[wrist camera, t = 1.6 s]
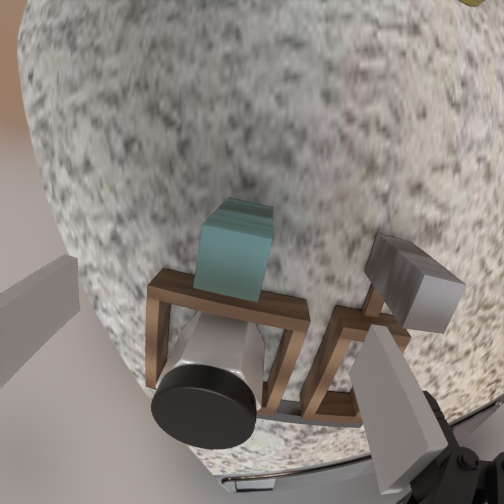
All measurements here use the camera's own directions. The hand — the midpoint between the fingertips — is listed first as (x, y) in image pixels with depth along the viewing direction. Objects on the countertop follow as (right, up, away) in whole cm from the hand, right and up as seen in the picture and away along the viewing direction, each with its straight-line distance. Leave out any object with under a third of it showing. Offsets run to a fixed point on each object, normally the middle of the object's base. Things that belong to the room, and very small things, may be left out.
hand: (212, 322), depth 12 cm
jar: (-1, -6, +19) cm, 20 cm away
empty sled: (+13, -5, +18) cm, 23 cm away
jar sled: (-1, -3, +18) cm, 18 cm away
